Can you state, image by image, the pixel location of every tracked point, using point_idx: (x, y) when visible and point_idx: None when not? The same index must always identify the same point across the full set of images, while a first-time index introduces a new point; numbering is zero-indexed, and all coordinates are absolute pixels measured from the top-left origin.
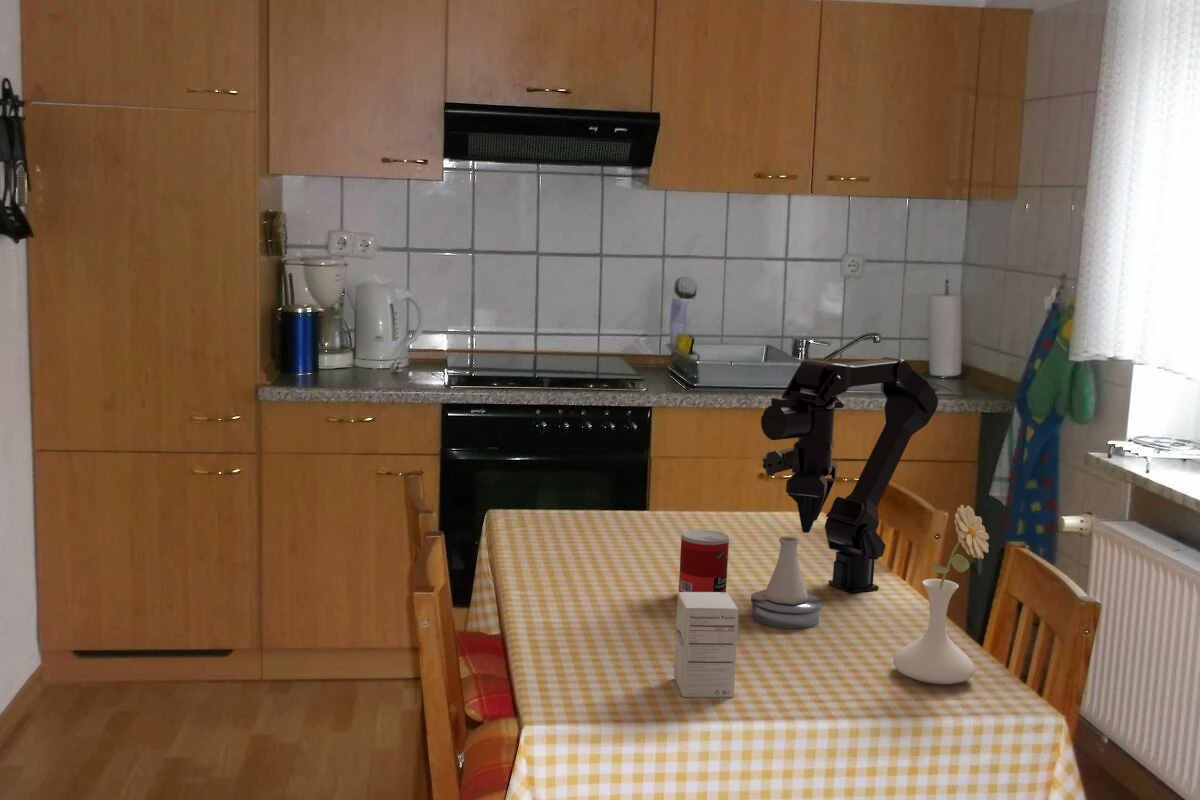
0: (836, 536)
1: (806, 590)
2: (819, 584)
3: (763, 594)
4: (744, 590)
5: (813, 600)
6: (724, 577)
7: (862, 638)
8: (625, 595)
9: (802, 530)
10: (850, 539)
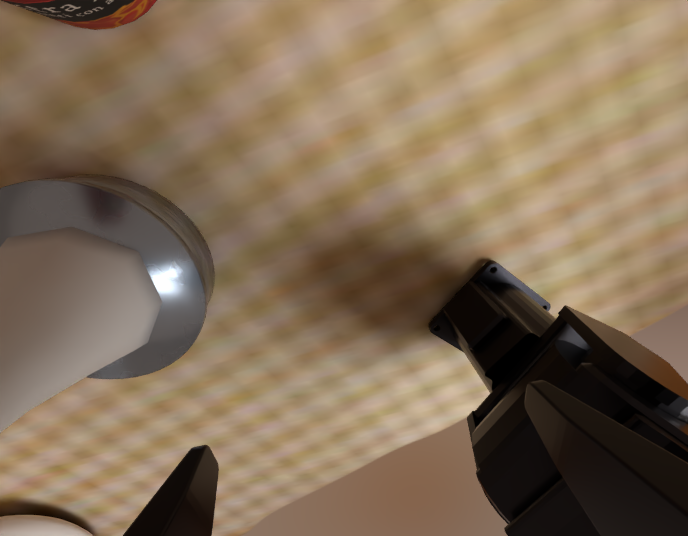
0: (521, 397)
1: (131, 351)
2: (478, 241)
3: (71, 217)
4: (299, 52)
5: (148, 352)
6: (21, 4)
7: (134, 425)
8: None
9: (185, 456)
10: (476, 450)
